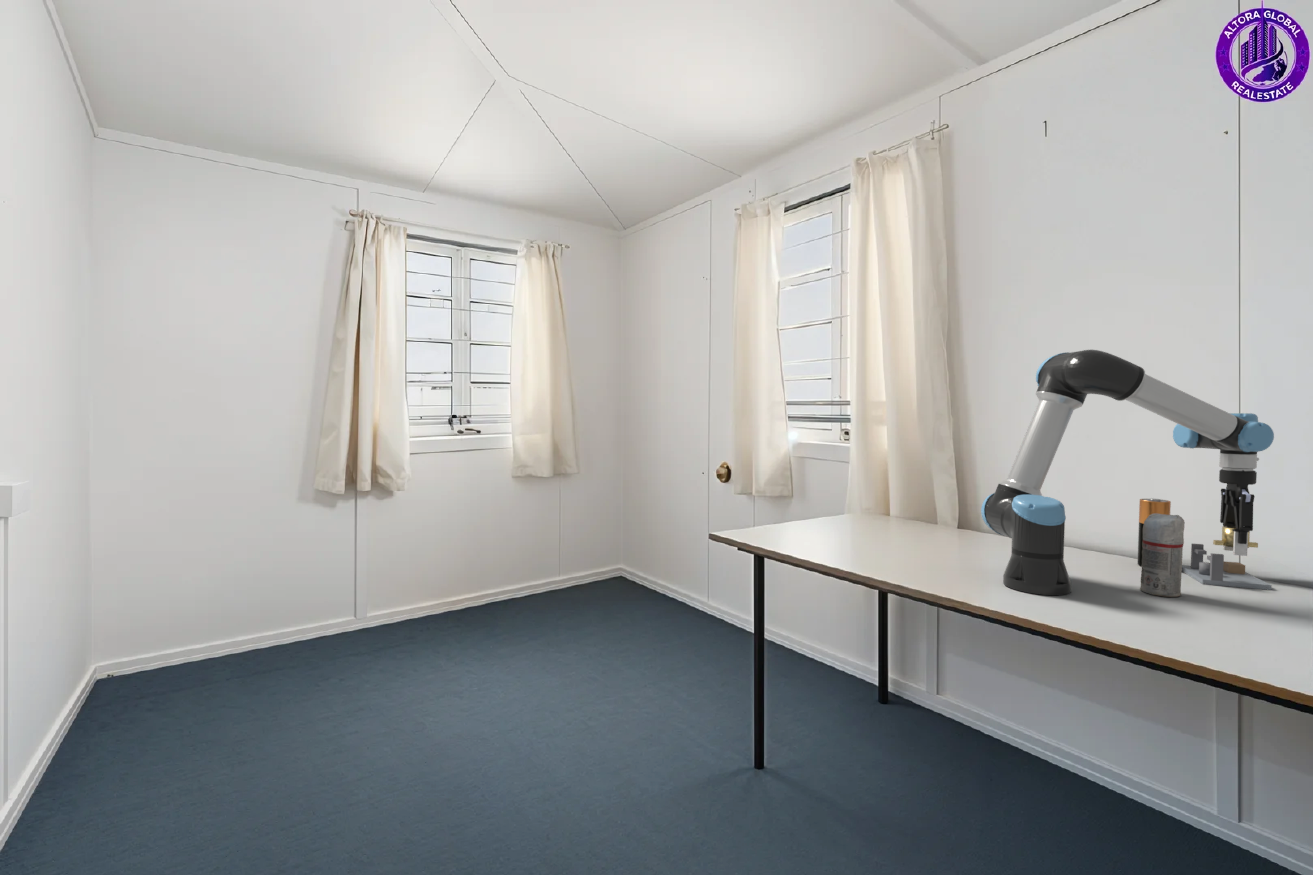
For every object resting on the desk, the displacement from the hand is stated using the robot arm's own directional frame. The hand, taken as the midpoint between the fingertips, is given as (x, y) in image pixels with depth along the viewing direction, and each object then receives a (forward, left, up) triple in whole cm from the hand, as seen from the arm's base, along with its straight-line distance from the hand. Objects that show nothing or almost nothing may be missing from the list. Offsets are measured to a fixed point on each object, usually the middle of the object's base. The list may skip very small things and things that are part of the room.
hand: (1234, 552), depth 174 cm
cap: (0, 0, +2) cm, 2 cm away
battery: (-17, +4, -7) cm, 19 cm away
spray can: (-24, -28, -7) cm, 37 cm away
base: (-4, -5, -7) cm, 9 cm away
